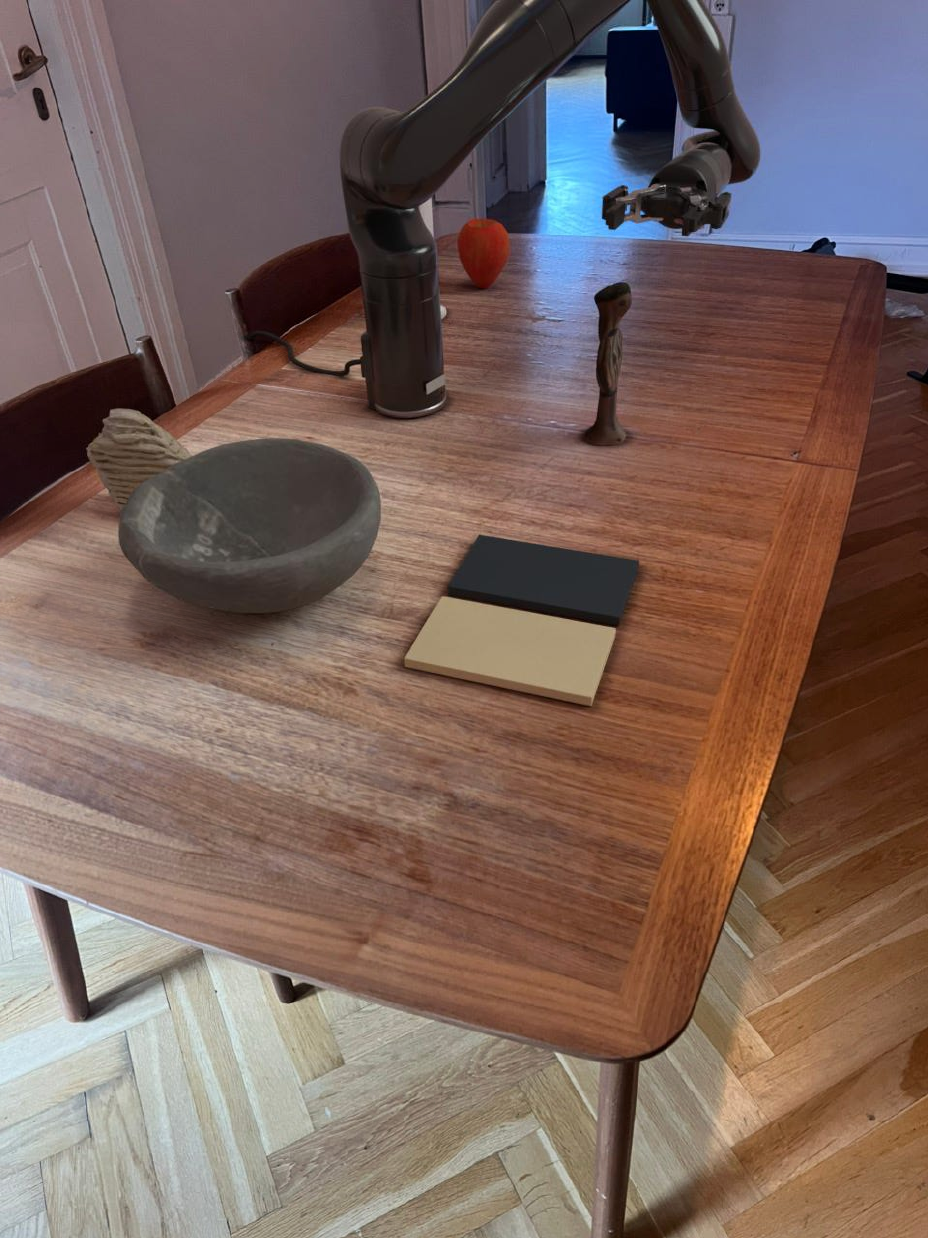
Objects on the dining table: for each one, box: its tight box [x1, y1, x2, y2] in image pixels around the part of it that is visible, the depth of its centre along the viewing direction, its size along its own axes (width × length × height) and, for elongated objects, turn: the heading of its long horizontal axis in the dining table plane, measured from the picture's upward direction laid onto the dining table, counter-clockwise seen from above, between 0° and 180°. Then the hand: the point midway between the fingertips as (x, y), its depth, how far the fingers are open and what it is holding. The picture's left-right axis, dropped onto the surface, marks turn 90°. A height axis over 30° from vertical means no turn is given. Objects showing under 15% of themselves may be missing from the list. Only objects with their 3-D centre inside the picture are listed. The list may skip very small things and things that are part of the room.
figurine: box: [583, 281, 633, 446], centre depth 99 cm, size 7×5×18 cm
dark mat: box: [447, 534, 640, 627], centre depth 83 cm, size 16×9×1 cm, turn 70°
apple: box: [456, 217, 511, 290], centre depth 145 cm, size 9×8×11 cm
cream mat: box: [403, 595, 617, 707], centre depth 75 cm, size 16×9×1 cm, turn 70°
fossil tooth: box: [85, 407, 193, 511], centre depth 93 cm, size 12×6×15 cm
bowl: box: [117, 437, 382, 614], centre depth 82 cm, size 23×22×10 cm
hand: (647, 223), depth 99 cm, fingers open, 8 cm apart
